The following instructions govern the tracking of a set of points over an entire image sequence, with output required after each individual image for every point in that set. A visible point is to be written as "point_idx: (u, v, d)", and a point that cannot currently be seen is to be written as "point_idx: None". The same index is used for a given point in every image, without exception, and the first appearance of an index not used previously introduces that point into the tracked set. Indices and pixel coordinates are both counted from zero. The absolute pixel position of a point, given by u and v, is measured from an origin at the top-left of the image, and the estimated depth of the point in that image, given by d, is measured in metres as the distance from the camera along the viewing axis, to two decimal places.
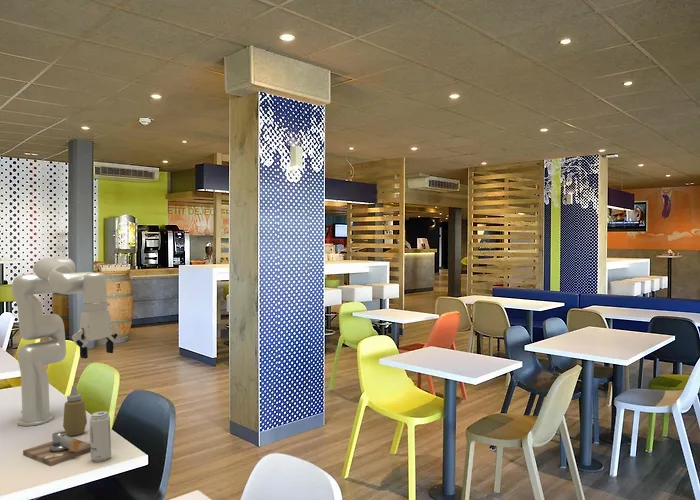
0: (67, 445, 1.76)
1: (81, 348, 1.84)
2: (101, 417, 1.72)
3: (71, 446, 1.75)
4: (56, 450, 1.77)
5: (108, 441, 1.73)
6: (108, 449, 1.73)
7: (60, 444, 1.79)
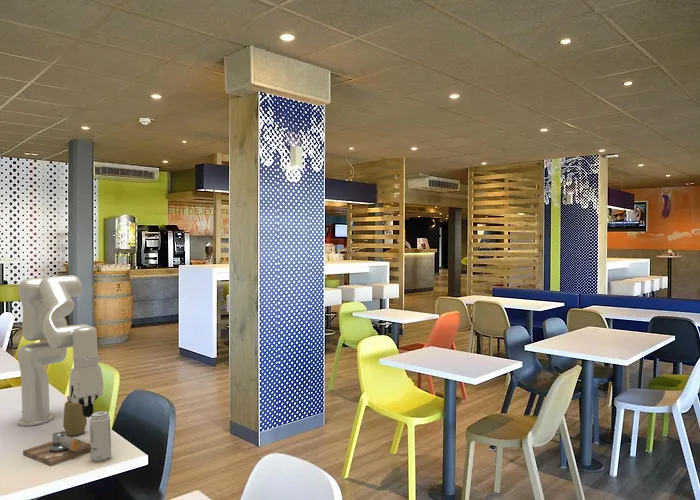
0: (67, 445, 1.76)
1: (83, 407, 1.81)
2: (101, 417, 1.72)
3: (71, 446, 1.75)
4: (56, 450, 1.77)
5: (108, 441, 1.73)
6: (108, 449, 1.73)
7: (60, 444, 1.79)
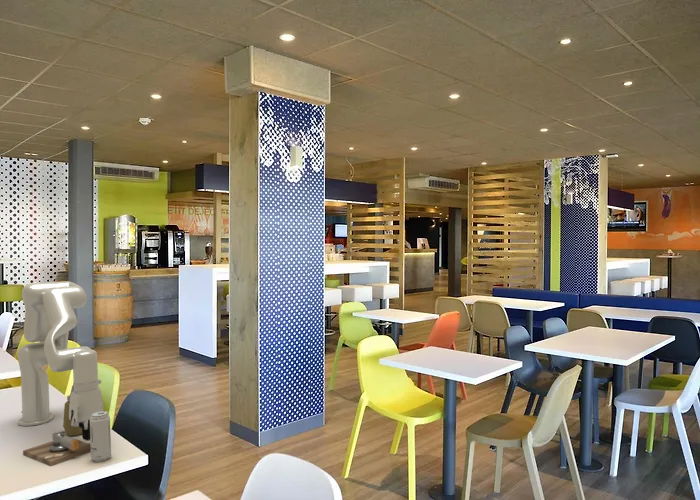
0: (67, 445, 1.76)
1: (83, 430, 1.81)
2: (101, 417, 1.72)
3: (71, 446, 1.75)
4: (56, 450, 1.77)
5: (108, 441, 1.73)
6: (108, 449, 1.73)
7: (60, 444, 1.79)
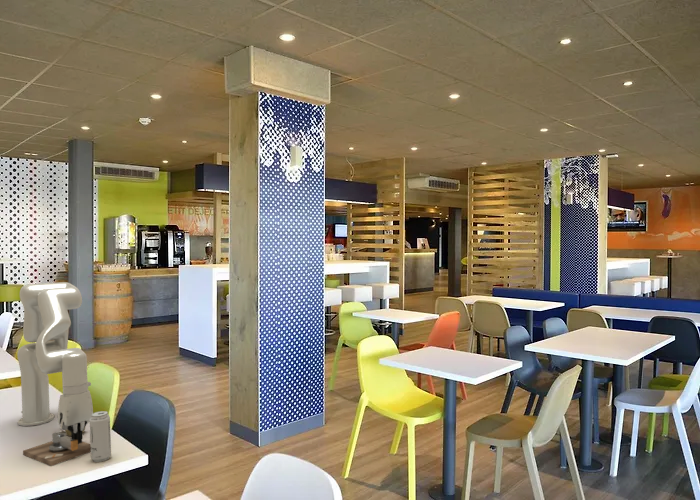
0: (66, 445, 1.76)
1: (73, 433, 1.78)
2: (101, 417, 1.72)
3: (70, 446, 1.75)
4: (56, 450, 1.77)
5: (108, 441, 1.73)
6: (108, 449, 1.73)
7: (60, 444, 1.79)
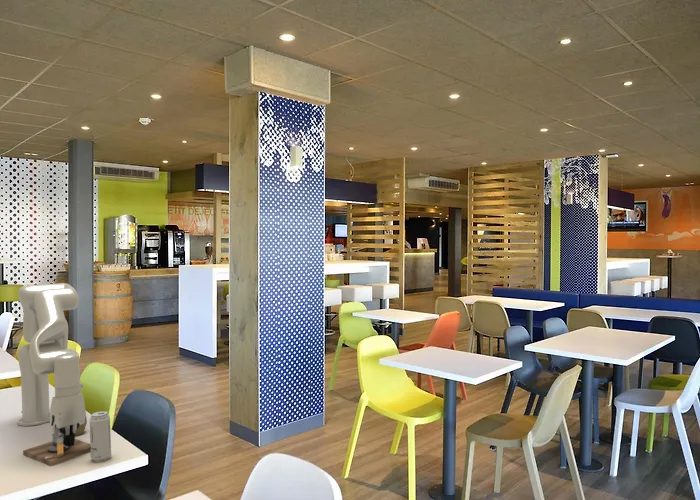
0: None
1: (65, 436, 1.76)
2: (101, 417, 1.72)
3: (57, 449, 1.72)
4: (50, 450, 1.77)
5: (108, 441, 1.73)
6: (108, 449, 1.73)
7: (56, 445, 1.78)
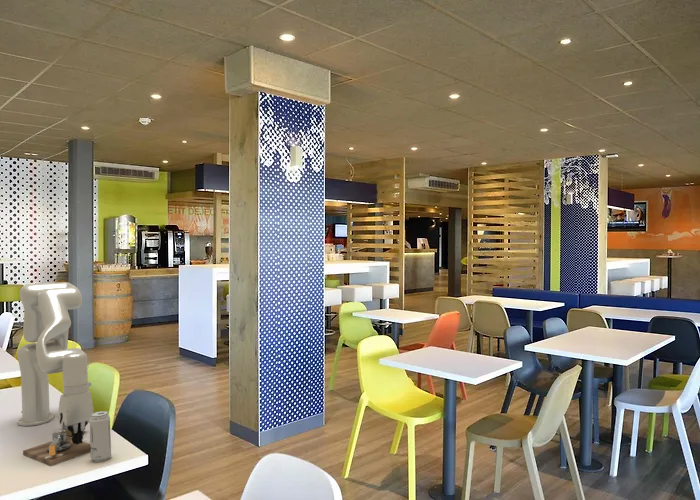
0: None
1: (73, 434, 1.78)
2: (101, 417, 1.72)
3: None
4: (48, 450, 1.77)
5: (108, 441, 1.73)
6: (108, 449, 1.73)
7: None
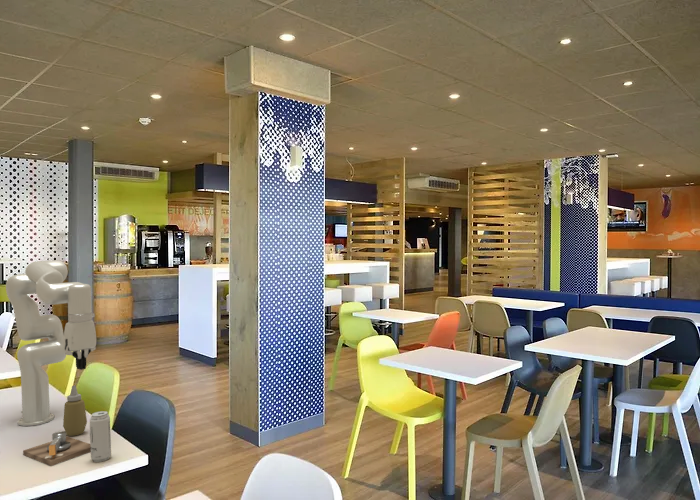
0: None
1: (77, 359, 1.90)
2: (101, 417, 1.72)
3: None
4: (48, 450, 1.77)
5: (108, 441, 1.73)
6: (108, 449, 1.73)
7: None
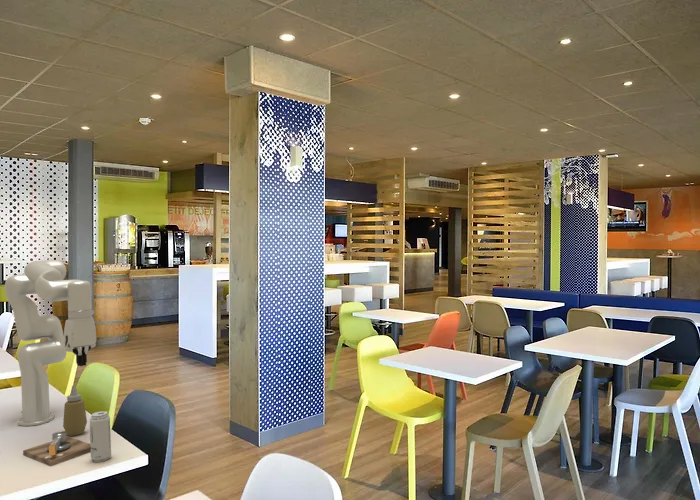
0: None
1: (77, 356, 1.90)
2: (101, 417, 1.72)
3: None
4: (48, 450, 1.77)
5: (108, 441, 1.73)
6: (108, 449, 1.73)
7: None
